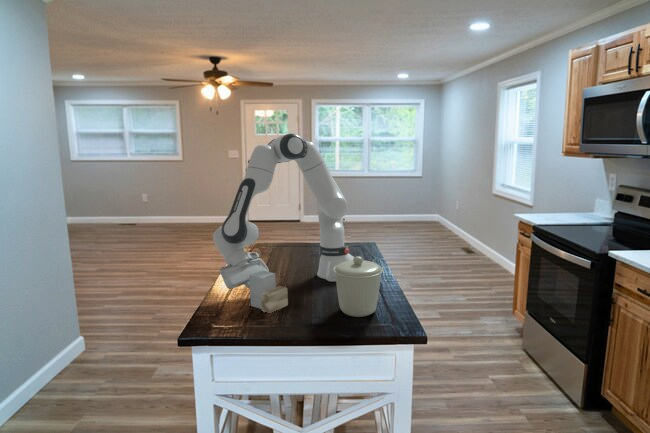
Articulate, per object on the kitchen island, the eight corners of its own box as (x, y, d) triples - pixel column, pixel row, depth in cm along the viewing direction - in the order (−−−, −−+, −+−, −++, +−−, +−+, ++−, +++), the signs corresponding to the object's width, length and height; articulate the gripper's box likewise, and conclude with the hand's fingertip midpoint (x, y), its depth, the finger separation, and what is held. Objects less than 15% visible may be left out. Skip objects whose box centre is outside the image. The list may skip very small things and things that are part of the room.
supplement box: (277, 304, 166) (276, 273, 163) (263, 310, 160) (262, 278, 158) (263, 299, 170) (262, 269, 168) (250, 305, 164) (248, 274, 162)
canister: (365, 298, 170) (365, 247, 166) (392, 315, 154) (393, 259, 150) (325, 307, 162) (324, 254, 158) (349, 326, 146) (349, 267, 142)
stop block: (261, 311, 159) (261, 293, 158) (280, 302, 167) (279, 285, 166) (269, 313, 157) (268, 296, 156) (287, 305, 165) (287, 287, 163)
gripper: (221, 264, 161) (239, 294, 157) (260, 252, 177) (278, 279, 173) (214, 272, 165) (231, 302, 161) (253, 260, 180) (270, 287, 176)
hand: (256, 290), depth 167 cm, fingers closed, pressing on supplement box
